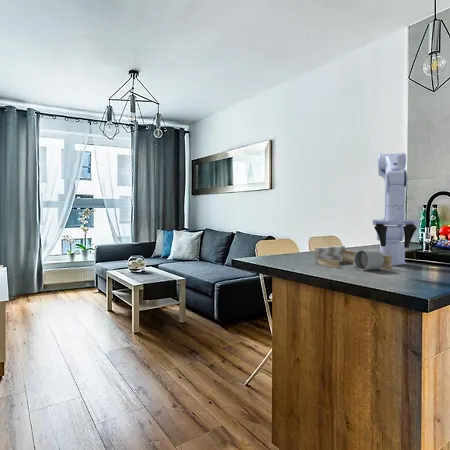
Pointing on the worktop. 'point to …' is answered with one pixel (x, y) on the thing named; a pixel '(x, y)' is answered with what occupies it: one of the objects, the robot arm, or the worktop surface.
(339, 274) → the worktop surface
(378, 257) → the ceramic mug
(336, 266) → the brown wooden pieces
